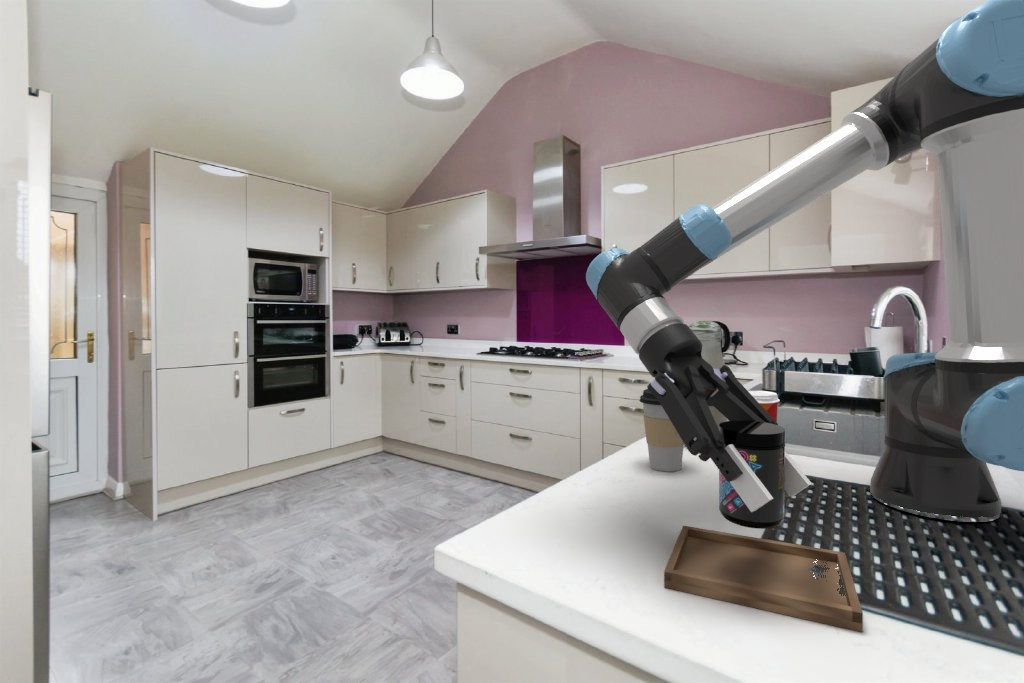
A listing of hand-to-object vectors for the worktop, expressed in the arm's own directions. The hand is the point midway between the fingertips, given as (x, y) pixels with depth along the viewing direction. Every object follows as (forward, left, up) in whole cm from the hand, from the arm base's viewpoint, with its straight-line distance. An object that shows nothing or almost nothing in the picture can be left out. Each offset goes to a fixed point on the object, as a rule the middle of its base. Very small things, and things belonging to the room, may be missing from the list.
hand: (782, 497), depth 53 cm
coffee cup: (+19, -39, -10) cm, 45 cm away
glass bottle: (+14, -58, -10) cm, 61 cm away
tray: (+2, -2, -10) cm, 11 cm away
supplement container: (+3, -2, -4) cm, 5 cm away
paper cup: (+3, -48, -10) cm, 49 cm away
